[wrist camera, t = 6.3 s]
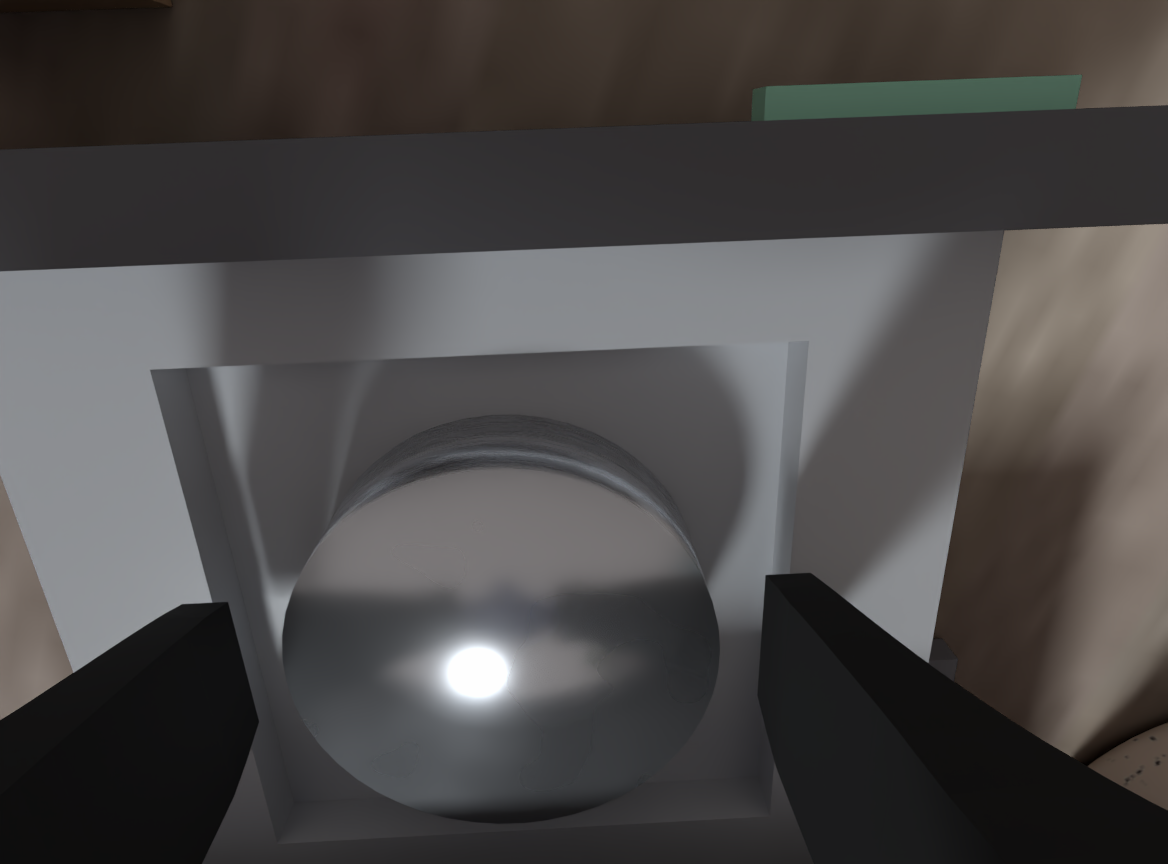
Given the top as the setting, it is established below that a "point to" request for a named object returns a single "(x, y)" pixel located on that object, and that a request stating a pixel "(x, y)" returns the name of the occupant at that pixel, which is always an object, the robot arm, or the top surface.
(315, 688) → the disc
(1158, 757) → the cream lidded canister
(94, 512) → the tray
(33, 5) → the walnut block
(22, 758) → the robot arm
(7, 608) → the top surface
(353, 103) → the top surface
